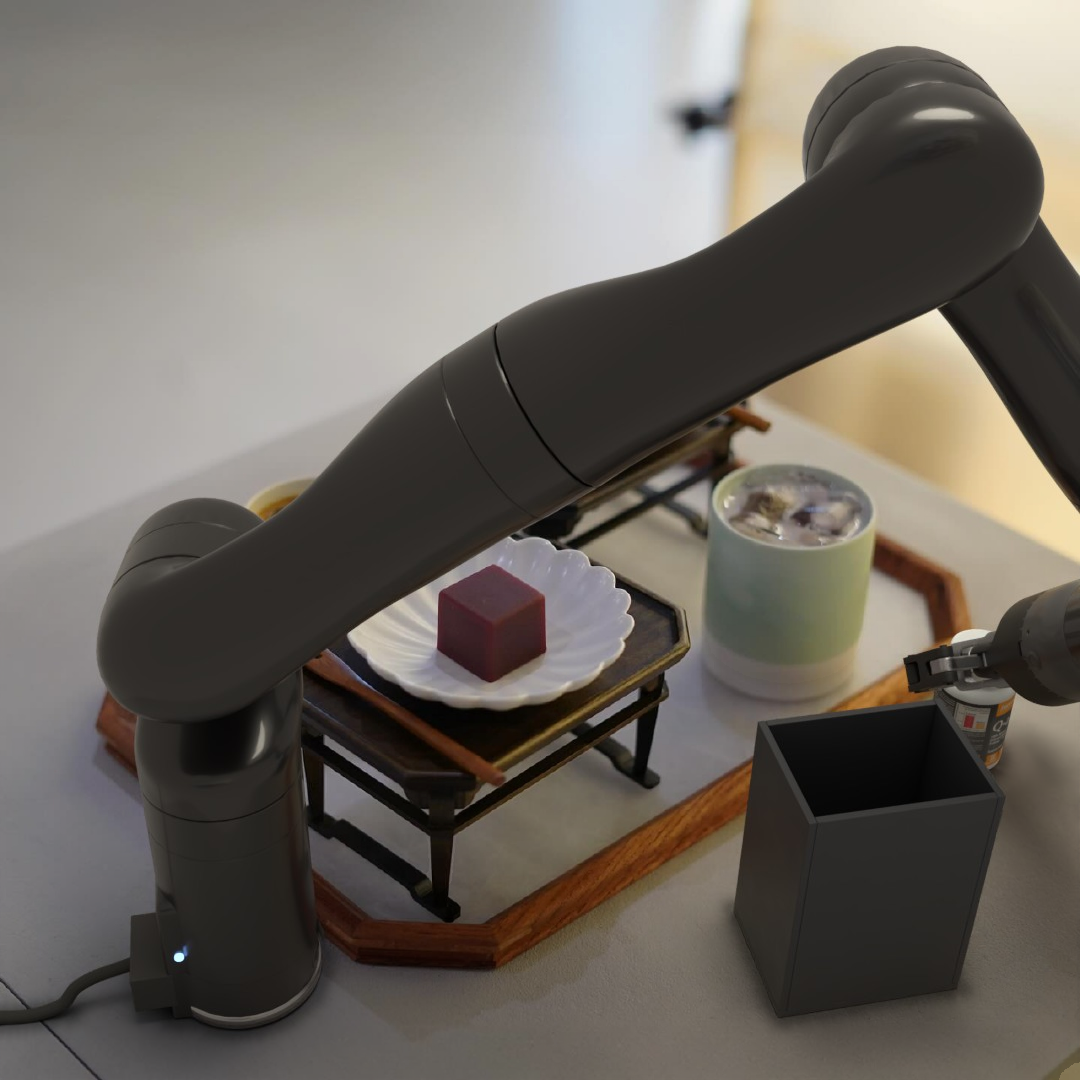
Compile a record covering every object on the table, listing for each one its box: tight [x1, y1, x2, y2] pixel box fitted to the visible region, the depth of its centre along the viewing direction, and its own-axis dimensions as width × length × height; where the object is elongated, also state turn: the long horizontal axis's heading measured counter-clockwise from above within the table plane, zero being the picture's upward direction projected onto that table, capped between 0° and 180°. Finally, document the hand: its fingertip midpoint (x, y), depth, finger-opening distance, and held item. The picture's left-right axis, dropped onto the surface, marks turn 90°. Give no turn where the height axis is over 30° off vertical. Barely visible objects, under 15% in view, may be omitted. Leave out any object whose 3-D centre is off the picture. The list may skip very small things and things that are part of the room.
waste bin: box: [733, 698, 1007, 1018], centre depth 94 cm, size 12×9×16 cm
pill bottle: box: [932, 628, 1017, 771], centre depth 113 cm, size 6×6×10 cm
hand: (969, 671), depth 113 cm, fingers open, 8 cm apart
